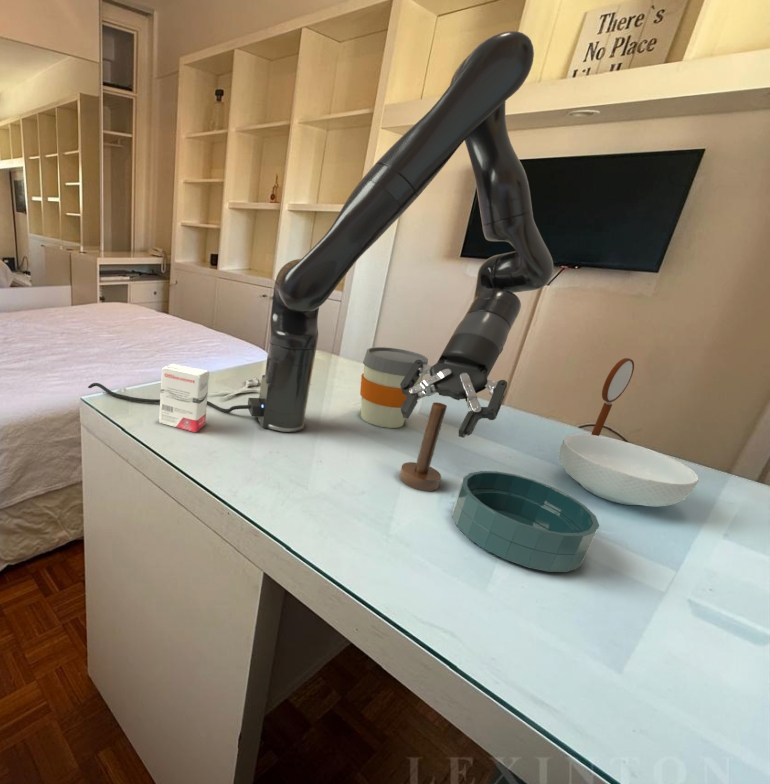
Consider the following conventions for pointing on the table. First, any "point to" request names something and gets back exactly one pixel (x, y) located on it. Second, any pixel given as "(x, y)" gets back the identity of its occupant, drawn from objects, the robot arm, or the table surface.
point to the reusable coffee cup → (385, 385)
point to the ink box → (183, 397)
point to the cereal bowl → (625, 471)
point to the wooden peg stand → (425, 455)
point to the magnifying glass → (614, 389)
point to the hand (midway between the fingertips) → (431, 425)
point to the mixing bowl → (524, 521)
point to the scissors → (243, 388)
